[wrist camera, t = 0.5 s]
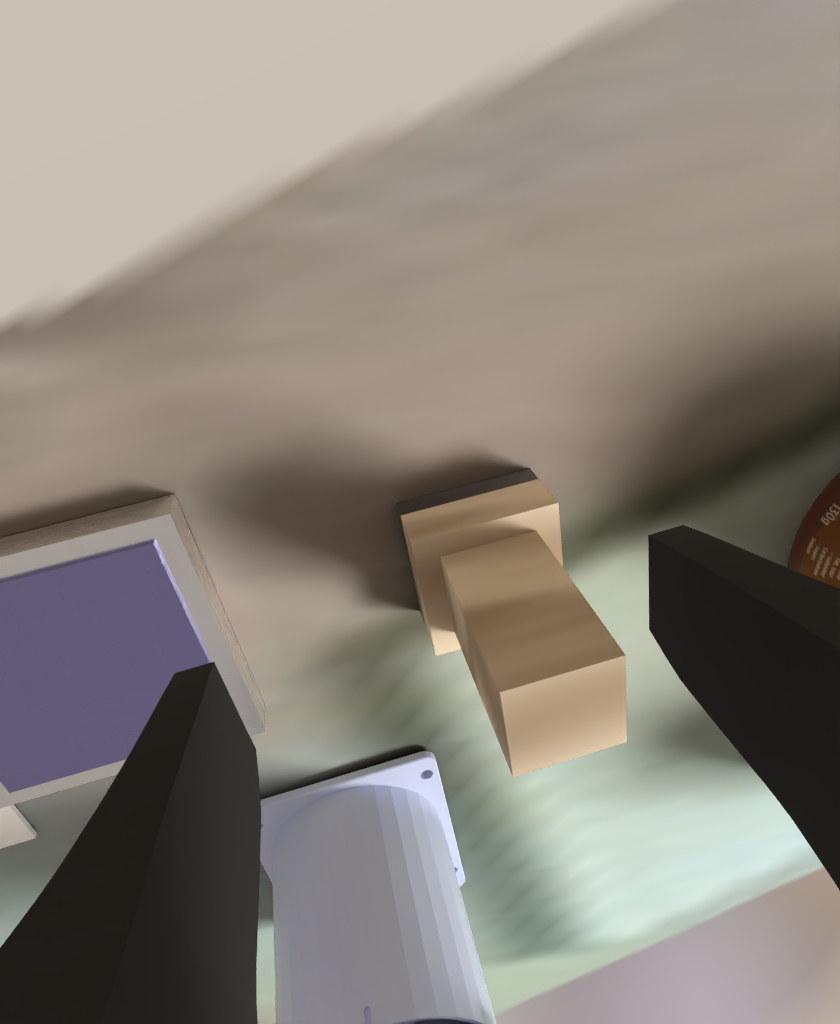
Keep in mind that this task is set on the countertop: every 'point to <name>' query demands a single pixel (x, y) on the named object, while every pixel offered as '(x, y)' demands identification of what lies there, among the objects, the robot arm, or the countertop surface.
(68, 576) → the ink pad
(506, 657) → the stamp
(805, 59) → the countertop surface
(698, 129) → the countertop surface
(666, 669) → the countertop surface
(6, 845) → the paper
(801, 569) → the food container
